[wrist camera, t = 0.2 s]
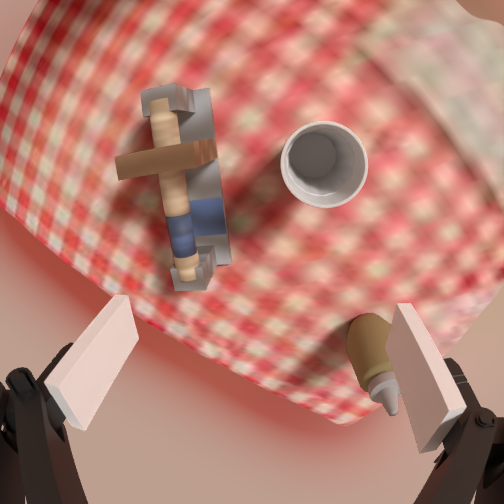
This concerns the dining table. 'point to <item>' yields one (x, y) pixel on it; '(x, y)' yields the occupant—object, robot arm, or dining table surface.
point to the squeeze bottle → (373, 360)
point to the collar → (166, 159)
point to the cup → (324, 164)
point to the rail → (189, 185)
